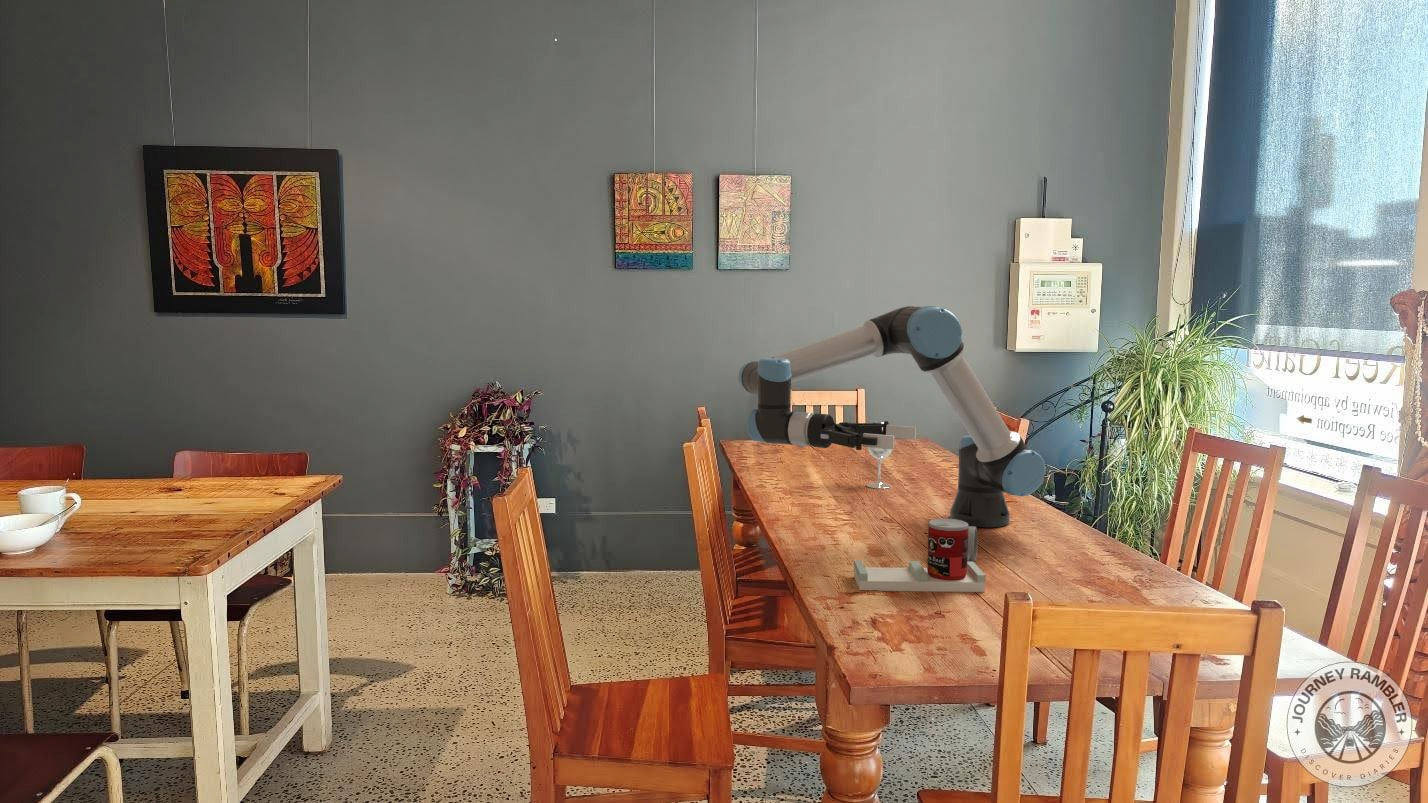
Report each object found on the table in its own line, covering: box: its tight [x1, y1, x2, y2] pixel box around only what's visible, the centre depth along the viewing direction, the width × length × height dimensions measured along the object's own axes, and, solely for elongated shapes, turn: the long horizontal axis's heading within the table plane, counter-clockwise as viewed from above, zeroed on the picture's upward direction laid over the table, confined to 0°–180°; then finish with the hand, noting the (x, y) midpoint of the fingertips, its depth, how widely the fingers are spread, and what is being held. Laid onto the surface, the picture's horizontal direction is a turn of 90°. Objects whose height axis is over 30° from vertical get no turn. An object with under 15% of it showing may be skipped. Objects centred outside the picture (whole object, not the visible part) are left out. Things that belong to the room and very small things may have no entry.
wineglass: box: [866, 421, 893, 490], centre depth 268 cm, size 8×8×20 cm
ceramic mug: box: [967, 526, 978, 562], centre depth 193 cm, size 11×8×8 cm
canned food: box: [926, 517, 970, 580], centre depth 176 cm, size 8×8×11 cm
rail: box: [853, 559, 986, 593], centre depth 177 cm, size 25×9×4 cm, turn 88°
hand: (905, 437), depth 180 cm, fingers open, 13 cm apart
